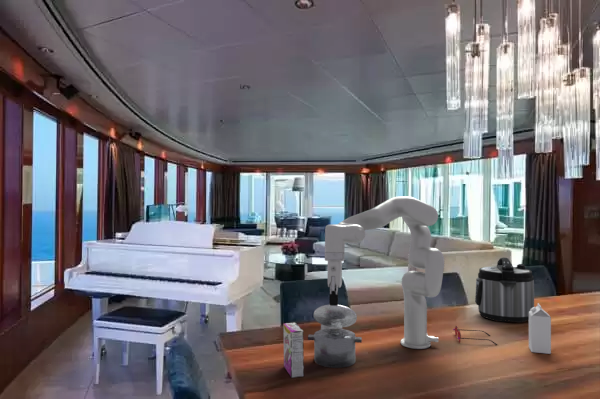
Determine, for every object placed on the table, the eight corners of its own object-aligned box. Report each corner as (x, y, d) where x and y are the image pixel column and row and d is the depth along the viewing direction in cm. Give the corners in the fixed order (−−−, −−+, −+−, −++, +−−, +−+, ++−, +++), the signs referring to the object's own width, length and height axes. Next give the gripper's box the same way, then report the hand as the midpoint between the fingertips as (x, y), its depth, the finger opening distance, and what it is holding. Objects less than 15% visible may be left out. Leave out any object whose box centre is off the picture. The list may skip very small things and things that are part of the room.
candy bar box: (282, 366, 165) (282, 323, 165) (295, 365, 166) (295, 322, 167) (290, 378, 154) (290, 331, 154) (304, 376, 156) (304, 330, 156)
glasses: (452, 334, 206) (452, 323, 206) (490, 336, 203) (490, 325, 203) (458, 344, 192) (458, 332, 192) (498, 346, 189) (498, 334, 189)
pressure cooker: (494, 308, 255) (494, 253, 255) (545, 318, 233) (545, 258, 233) (464, 316, 237) (464, 257, 237) (516, 328, 215) (516, 263, 215)
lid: (357, 328, 179) (357, 324, 180) (356, 307, 167) (356, 302, 168) (315, 326, 182) (316, 322, 183) (311, 305, 169) (312, 301, 171)
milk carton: (547, 348, 185) (547, 303, 185) (551, 354, 178) (550, 307, 178) (528, 347, 187) (528, 302, 187) (531, 352, 180) (531, 306, 180)
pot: (362, 353, 179) (362, 328, 179) (361, 369, 162) (361, 342, 162) (311, 350, 183) (311, 326, 183) (305, 366, 166) (305, 339, 166)
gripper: (343, 259, 161) (342, 309, 161) (345, 254, 176) (344, 301, 176) (322, 258, 162) (321, 308, 162) (326, 254, 177) (325, 300, 177)
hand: (333, 304), depth 169 cm, fingers closed
